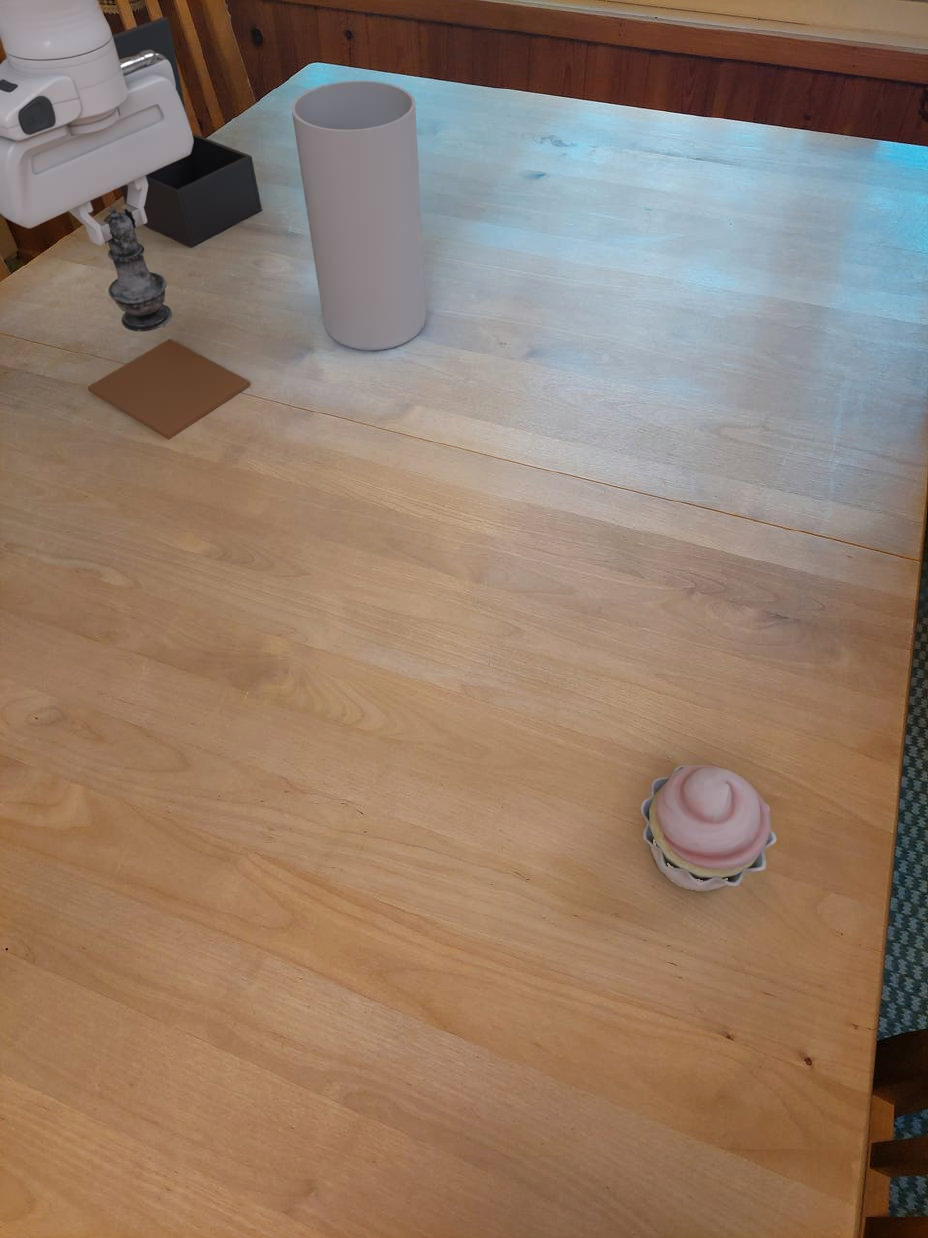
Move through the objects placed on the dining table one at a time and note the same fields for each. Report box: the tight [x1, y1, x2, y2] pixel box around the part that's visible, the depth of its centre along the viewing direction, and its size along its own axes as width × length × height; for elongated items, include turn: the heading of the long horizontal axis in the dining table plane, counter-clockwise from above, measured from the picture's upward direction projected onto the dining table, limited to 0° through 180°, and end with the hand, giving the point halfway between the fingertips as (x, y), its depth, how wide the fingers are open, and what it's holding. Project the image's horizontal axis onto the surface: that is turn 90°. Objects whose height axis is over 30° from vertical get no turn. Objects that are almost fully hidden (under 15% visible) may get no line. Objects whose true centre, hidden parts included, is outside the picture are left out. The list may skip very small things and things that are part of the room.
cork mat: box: [87, 338, 251, 440], centre depth 102 cm, size 14×12×1 cm
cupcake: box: [640, 764, 778, 892], centre depth 62 cm, size 9×9×10 cm
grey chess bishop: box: [102, 205, 173, 332], centre depth 91 cm, size 6×6×12 cm
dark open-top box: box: [120, 132, 263, 249], centre depth 126 cm, size 13×13×8 cm
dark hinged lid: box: [112, 16, 188, 117], centre depth 119 cm, size 14×13×1 cm
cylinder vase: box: [291, 80, 427, 351], centre depth 101 cm, size 12×12×25 cm
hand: (119, 232), depth 88 cm, fingers closed on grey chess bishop, 3 cm apart
